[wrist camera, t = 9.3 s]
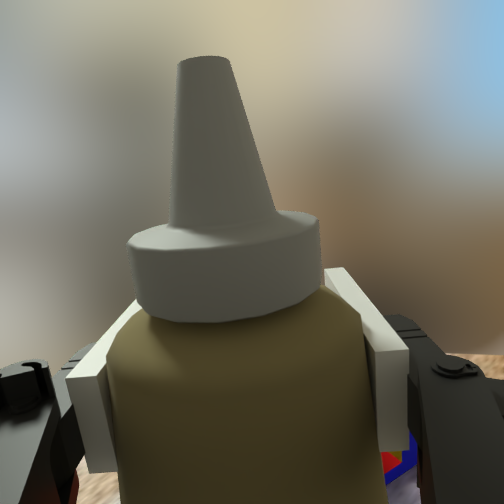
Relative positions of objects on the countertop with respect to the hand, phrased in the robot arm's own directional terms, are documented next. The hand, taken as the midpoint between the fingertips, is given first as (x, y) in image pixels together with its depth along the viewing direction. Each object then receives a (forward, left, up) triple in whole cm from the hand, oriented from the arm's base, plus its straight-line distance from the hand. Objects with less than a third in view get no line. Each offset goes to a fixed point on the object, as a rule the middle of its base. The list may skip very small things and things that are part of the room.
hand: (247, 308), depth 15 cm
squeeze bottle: (0, -5, -10) cm, 11 cm away
